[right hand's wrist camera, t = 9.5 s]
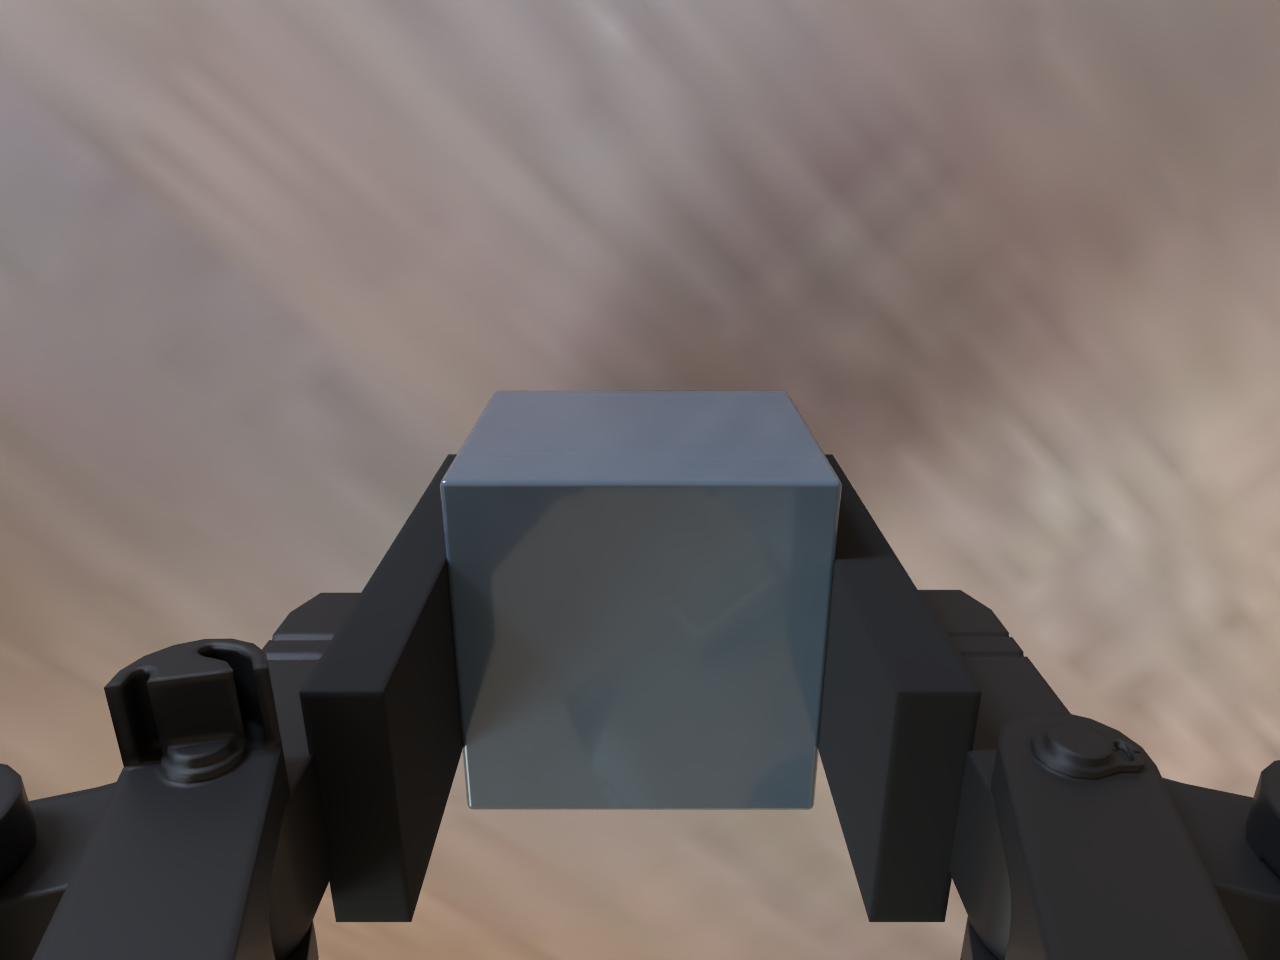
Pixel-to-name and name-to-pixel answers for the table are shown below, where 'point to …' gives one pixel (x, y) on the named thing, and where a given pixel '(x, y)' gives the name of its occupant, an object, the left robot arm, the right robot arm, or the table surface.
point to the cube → (640, 599)
